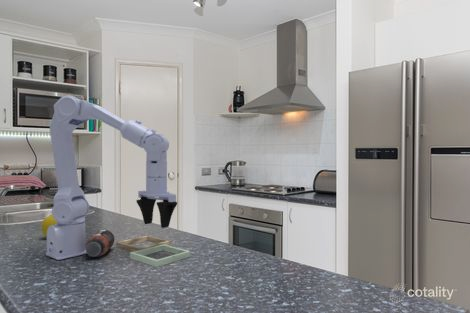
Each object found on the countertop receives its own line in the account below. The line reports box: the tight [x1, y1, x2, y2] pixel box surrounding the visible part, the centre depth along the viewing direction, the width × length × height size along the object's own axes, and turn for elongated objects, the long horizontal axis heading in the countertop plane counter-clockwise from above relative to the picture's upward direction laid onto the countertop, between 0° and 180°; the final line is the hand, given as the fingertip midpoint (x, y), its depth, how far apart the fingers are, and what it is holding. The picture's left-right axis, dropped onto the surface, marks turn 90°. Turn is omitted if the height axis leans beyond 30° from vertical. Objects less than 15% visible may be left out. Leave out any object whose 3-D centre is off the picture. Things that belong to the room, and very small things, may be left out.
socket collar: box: [116, 235, 172, 253], centre depth 107 cm, size 12×12×2 cm
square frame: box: [129, 244, 191, 268], centre depth 95 cm, size 12×12×2 cm
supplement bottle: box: [85, 229, 115, 258], centre depth 98 cm, size 6×6×11 cm
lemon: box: [41, 214, 57, 238], centre depth 116 cm, size 6×6×8 cm
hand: (156, 225), depth 98 cm, fingers open, 7 cm apart
